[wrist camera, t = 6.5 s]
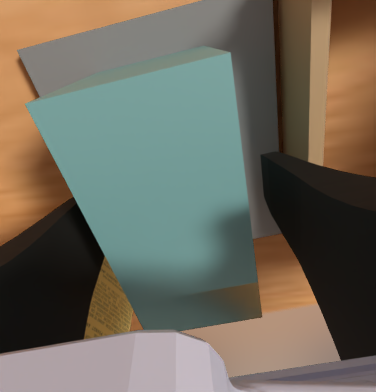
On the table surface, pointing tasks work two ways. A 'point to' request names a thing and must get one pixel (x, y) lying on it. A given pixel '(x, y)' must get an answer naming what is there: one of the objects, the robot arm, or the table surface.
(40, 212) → the table surface
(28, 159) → the table surface
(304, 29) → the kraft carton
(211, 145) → the teal box
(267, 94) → the slate mat
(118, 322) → the candy box
